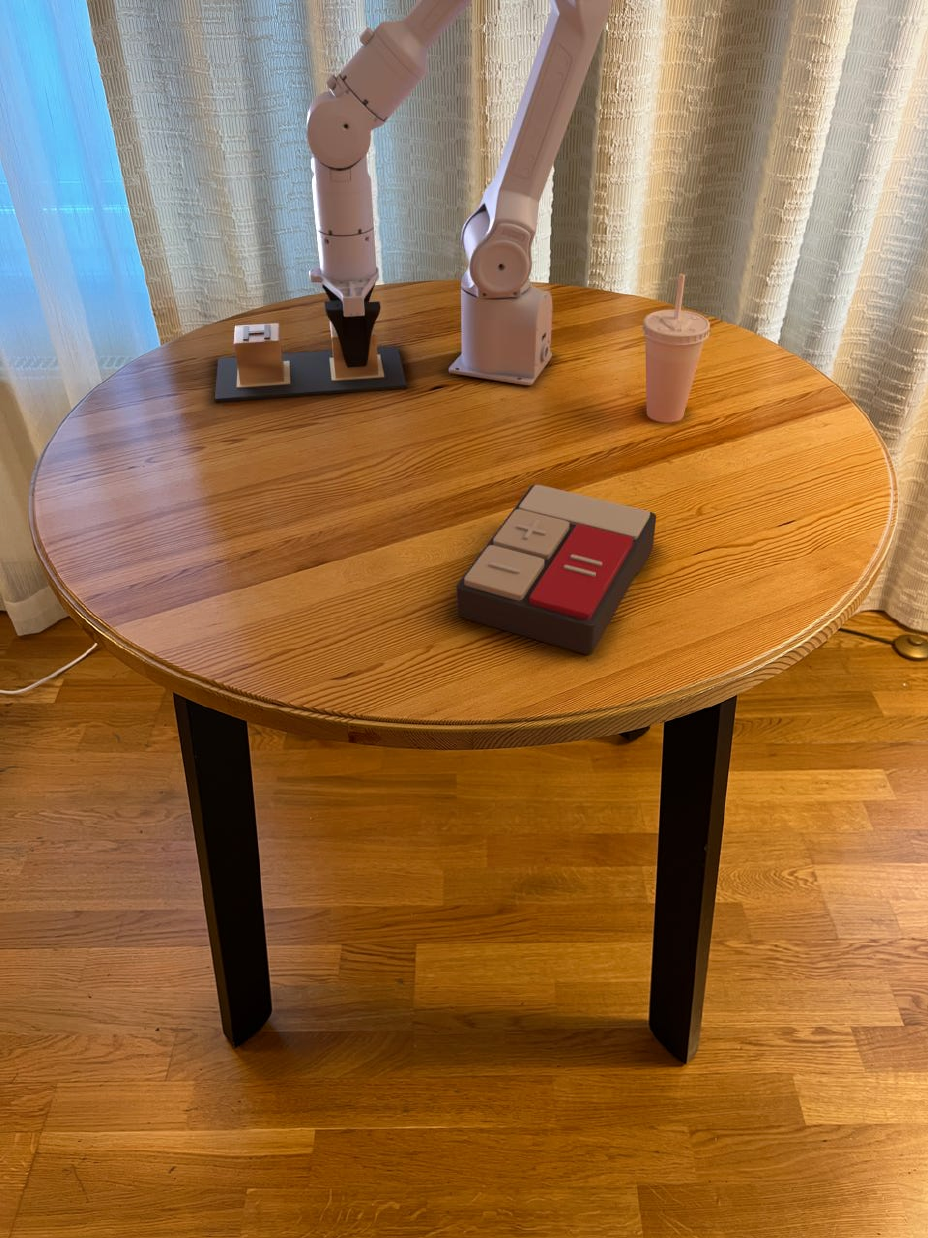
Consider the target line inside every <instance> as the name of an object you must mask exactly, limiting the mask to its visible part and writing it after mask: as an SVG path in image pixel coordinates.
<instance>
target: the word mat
mask: <svg viewBox="0 0 928 1238" xmlns="http://www.w3.org/2000/svg"><path fill="white" fill-rule="evenodd" d="M217 359H218V360H217V370H216V380H215V391H214V394H215V395H214V401H215V402H214V403H225V402H239V401H252V400H265V399H279V398H293V397H306V396H308V397H309V396H320V395H321V396H322V395H333V394H335V395H336V394H347V393H348V394H349V393H361V392H374V391H388V390H389V391H390V390H401V389H407V388H408V384H407V379H406V376H405V375H406V374H405V371H404V367H403V363H402V358H401V354H400V350H399V346H398V345H391V346H388V345H387V346H377V359H378V375H370V376H356V377H342V378H336V377H335V368H334V360H333V349H330V350H318V351H317V350H315V351H304V352H303V351H301V352H289V353H283V361H284V381H282V382H268V383H255V384H240V379H239V372H238V366H237V360H236V356H232V357H231V356H230V357H218V358H217Z"/></svg>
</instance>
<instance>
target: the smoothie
mask: <svg viewBox="0 0 928 1238" xmlns="http://www.w3.org/2000/svg"><path fill="white" fill-rule="evenodd" d="M685 279H686V274H685V273H679V274H678V281H677V289H676V296H675V304H674V309H661V310H655V311H653V312H651V313H649V314H647V315H646V316H645V317H644V318H643V322H642V327H641V332H642V334H643V336H645V337H644V339H645V341H644V342H645V343H644V346H645V347H644V349H645V389H646V390H645V397H646V400H645V402H646V416H647V417H648V418H649V419H651V420H652V421H656V422H660V423H665V424H666V423H667V424H668V423H675V422H679V421H681V420H682V419H683V417H684V416H685V411H686V408H687V405H688V400H689V397H690V394H691V390H692V387H693V383H694V380H695V376H696V372H697V369H698V366H699V363H700V358H701V355H702V351H703V347H704V343H705V341H706V340H707V339H708V338H709V337H710V333H711V332H710V328H711V323H710V321H709V320H708V318H707V317H704V316H703V315H701V314H699V313H697V312H694V311H690V310H684V309H682V304H683V303H682V302H683V295H684V287H685Z"/></svg>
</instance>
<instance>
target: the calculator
mask: <svg viewBox="0 0 928 1238" xmlns="http://www.w3.org/2000/svg"><path fill="white" fill-rule="evenodd" d="M656 523H657V514H656V513H654V512H652V511H648V510H646V509H642V508H637V507H633V506H629V505H624V504H620V503H616V502H612V501H609V500H605V499H600V498H595V497H591V496H588V495H583V494H580V493H575V492H571V491H567V490H563V489H558V488H554V487H550V486H546V485H542V484H532V485H531V486H530V487H529V488H528V489H527V491H526V492H525V493H524V495H523V496H522V497H521V499H520V500H519V501H518V502H517V504H516V505H515V507H514V508H513V509H512V510H511V512H510V513H509V514H508V516H507V517H506V519H505V520H504V521H503V523H502V524H501V525H500V527H499V528H498V529H497V530H496V531H495V533H494V534H493V536H492V537H491V539H490V540H489V541H488V542H487V544H486V546H485V547H484V548H483V549H482V550H481V552H480V553H479V555H478V556H477V557H476V558H475V560H474V561H473V563H472V564H471V565H470V567H469V568H468V570H467V571H466V572H465V573H464V575H463V576H462V577H461V578H460V580H459V581H458V582H457V585H456V586H455V587H456V588H455V589H456V607H457V608H456V610H457V611H456V612H457V615H458V617H459V618H461V619H465V620H468V621H471V622H475V623H477V624H482V625H485V626H488V627H492V628H495V629H499V630H502V631H506V632H509V633H511V634H512V633H513V634H515V635H519V636H522V637H526V638H529V639H531V640H532V639H533V640H535V641H539V642H542V643H546V644H549V645H552V646H556V647H560V648H562V649H567V650H569V651H573V652H576V653H579V654H583V655H591V654H593V653H594V651H595V649H596V648H597V646H598V645H599V643H600V640H601V639H602V637H603V636H604V633H605V632H606V630H607V628H608V627H609V624H610V622H611V621H612V619H613V617H614V615H615V613H616V612H617V610H618V608H619V606H620V604H621V602H622V601H623V599H624V597H625V596H626V593H627V592H628V590H629V588H630V586H631V585H632V583H633V581H634V579H635V578H636V576H637V575H638V574H640V573H641V571H642V569H643V568H644V566H645V564H646V562H647V560H648V559H649V557H650V555H651V553H652V551H653V549H654V541H655V531H656Z"/></svg>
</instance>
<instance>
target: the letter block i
mask: <svg viewBox="0 0 928 1238" xmlns="http://www.w3.org/2000/svg"><path fill="white" fill-rule="evenodd" d="M329 327H330V337H331V347H332V348H331V350H333V360H334V368H335V377H336V378H342V377H356V376H370V375H378V359H377V347H378V346H377V333H376V329H375V326H374V327H373V330H372V334H371V340H370V349H369V356H368V362H367V366H364V367H350V368H348V367H347V365H346V363H345V360H344V357H343V353H342V349H341V345H340V341H339V338H338V335H337V332H336V330H335V328H334V326H333V324H332V323H331V321H330V320H329Z"/></svg>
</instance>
